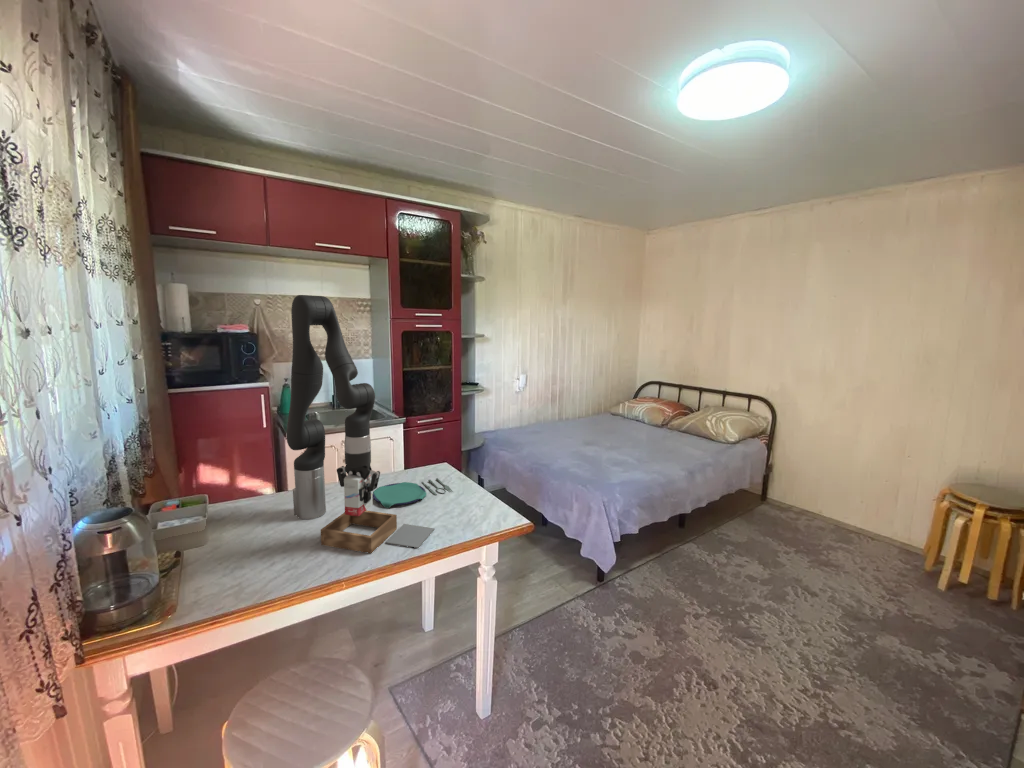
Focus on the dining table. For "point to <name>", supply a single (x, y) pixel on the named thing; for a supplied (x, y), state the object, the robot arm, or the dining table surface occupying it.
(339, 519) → the wooden tray
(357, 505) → the ink box
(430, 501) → the dining table surface
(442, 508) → the dining table surface
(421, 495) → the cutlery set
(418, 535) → the rubber mat
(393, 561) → the dining table surface
